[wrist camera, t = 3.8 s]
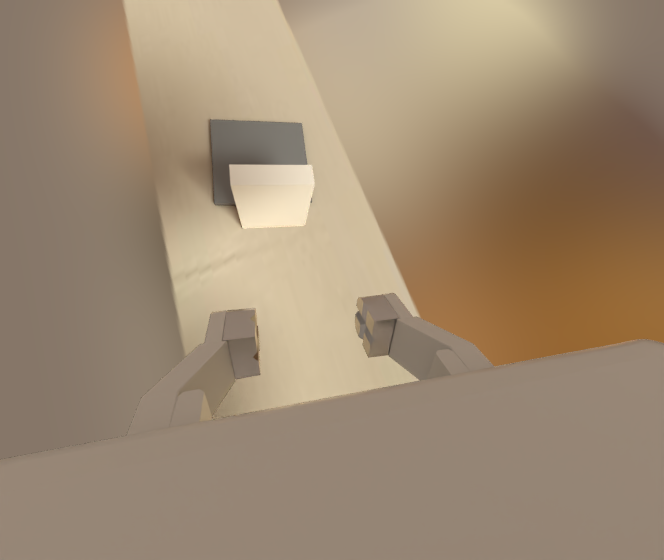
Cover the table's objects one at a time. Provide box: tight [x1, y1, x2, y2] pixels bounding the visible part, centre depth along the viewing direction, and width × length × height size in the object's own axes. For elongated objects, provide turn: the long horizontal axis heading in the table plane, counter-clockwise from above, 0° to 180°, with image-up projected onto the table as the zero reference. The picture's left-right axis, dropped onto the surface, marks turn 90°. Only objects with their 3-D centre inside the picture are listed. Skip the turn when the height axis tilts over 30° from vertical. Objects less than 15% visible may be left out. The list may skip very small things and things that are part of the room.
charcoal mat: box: [210, 119, 312, 205], centre depth 42 cm, size 14×14×1 cm
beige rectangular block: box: [229, 164, 315, 228], centre depth 35 cm, size 3×9×11 cm, turn 98°
